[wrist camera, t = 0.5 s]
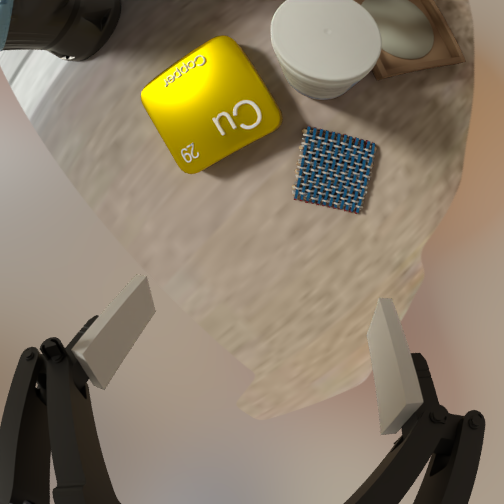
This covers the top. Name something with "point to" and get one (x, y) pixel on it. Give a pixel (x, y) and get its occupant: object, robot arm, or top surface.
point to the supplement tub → (325, 45)
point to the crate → (411, 37)
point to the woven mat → (333, 170)
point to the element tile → (210, 105)
